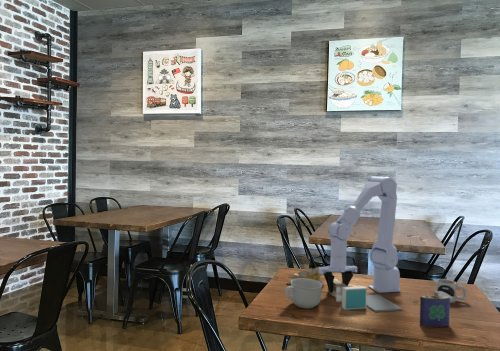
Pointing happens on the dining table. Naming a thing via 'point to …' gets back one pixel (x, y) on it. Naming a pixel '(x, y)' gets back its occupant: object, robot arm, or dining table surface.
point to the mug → (449, 289)
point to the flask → (434, 310)
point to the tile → (354, 297)
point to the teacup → (304, 292)
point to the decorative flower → (308, 275)
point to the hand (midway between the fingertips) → (337, 291)
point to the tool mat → (380, 304)
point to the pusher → (338, 289)
